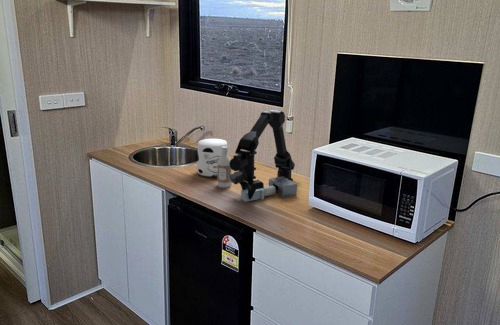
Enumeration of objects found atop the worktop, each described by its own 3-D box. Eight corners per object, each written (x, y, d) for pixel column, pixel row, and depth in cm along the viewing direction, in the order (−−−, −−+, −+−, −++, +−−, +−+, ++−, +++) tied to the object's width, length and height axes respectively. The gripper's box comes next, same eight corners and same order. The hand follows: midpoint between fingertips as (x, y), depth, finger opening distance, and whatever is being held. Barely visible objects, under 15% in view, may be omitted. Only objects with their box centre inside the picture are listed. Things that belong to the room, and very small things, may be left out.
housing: (282, 187, 216) (282, 176, 215) (296, 195, 206) (297, 183, 205) (268, 190, 213) (269, 178, 211) (282, 198, 203) (282, 186, 201)
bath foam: (215, 187, 216) (215, 148, 210) (220, 182, 222) (220, 144, 216) (228, 188, 214) (228, 149, 208) (233, 184, 220) (233, 145, 214)
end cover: (269, 192, 210) (269, 183, 208) (276, 196, 204) (277, 187, 203) (239, 198, 202) (239, 188, 201) (246, 202, 197) (246, 193, 195)
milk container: (217, 182, 223) (217, 148, 217) (190, 176, 231) (189, 143, 226) (235, 172, 237) (235, 140, 232) (208, 167, 245) (208, 136, 240)
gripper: (222, 162, 199) (222, 194, 204) (242, 174, 184) (241, 208, 188) (243, 158, 204) (243, 189, 209) (264, 170, 189) (263, 203, 194)
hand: (247, 197), depth 200 cm, fingers closed on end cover, 4 cm apart
